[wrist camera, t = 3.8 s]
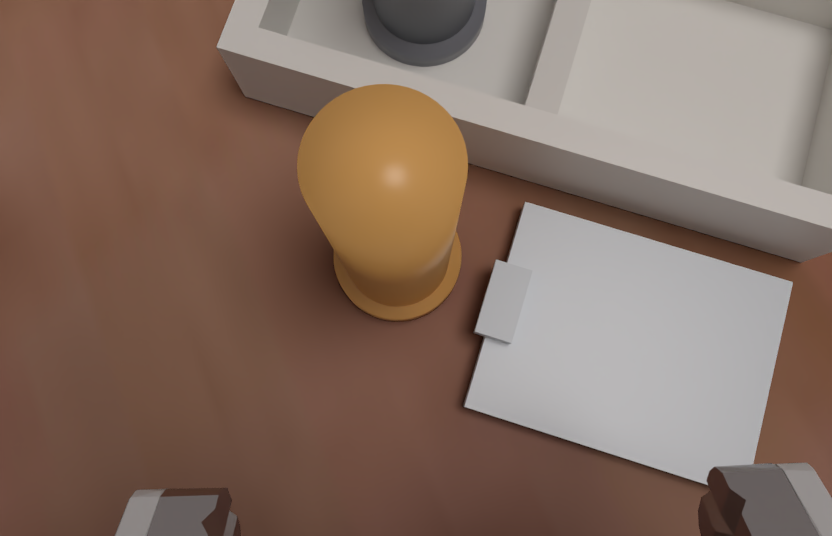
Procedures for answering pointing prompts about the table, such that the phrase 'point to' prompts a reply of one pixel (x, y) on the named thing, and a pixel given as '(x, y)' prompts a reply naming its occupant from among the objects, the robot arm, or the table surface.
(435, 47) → the grey rounded peg
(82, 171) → the table surface
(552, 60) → the white divided tray
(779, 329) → the lid
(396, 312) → the domed orange pawn
